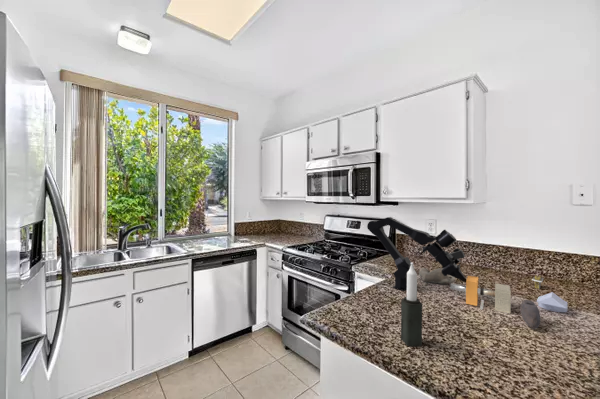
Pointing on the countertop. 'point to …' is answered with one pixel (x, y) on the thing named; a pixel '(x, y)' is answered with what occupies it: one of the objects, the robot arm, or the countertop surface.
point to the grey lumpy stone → (435, 276)
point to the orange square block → (472, 290)
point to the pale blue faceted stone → (552, 302)
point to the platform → (538, 281)
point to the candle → (411, 312)
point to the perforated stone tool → (530, 314)
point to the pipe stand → (500, 294)
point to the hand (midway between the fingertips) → (466, 281)
